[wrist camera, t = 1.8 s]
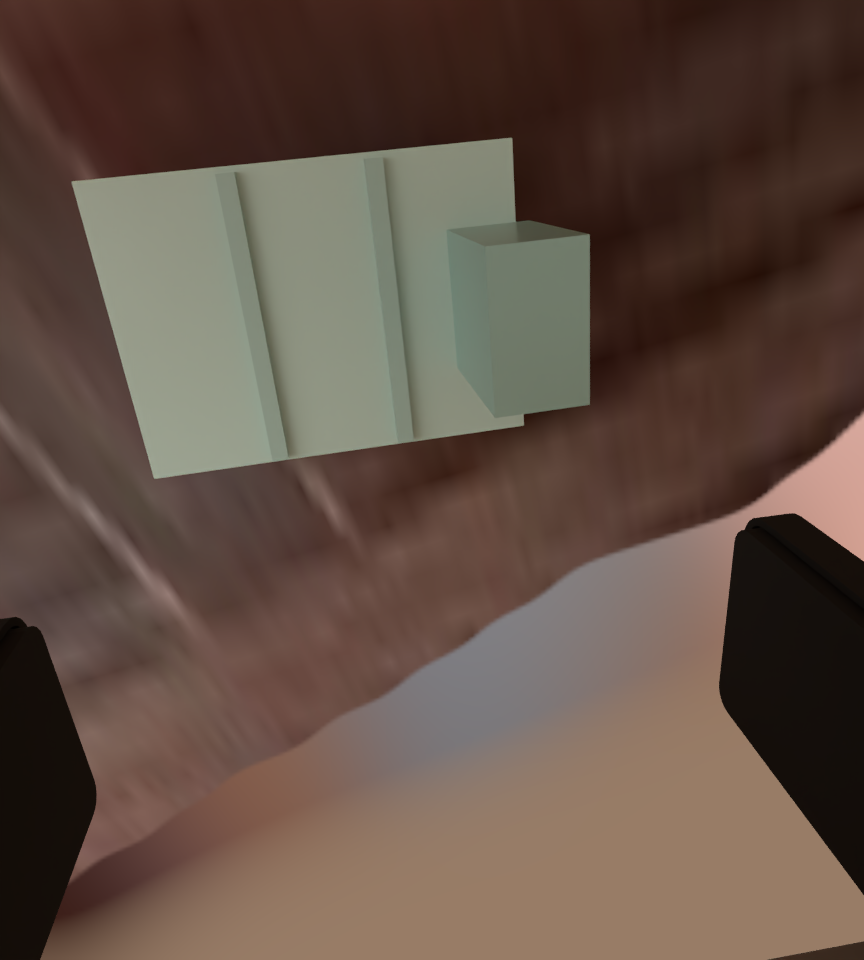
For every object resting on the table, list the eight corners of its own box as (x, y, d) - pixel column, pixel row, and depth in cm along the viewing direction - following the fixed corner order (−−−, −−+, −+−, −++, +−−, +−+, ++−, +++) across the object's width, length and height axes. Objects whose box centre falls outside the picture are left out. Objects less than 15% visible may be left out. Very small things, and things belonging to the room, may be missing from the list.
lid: (87, 180, 24) (-4, 185, 17) (512, 138, 26) (589, 127, 19) (163, 461, 28) (115, 557, 21) (523, 409, 30) (589, 484, 23)
